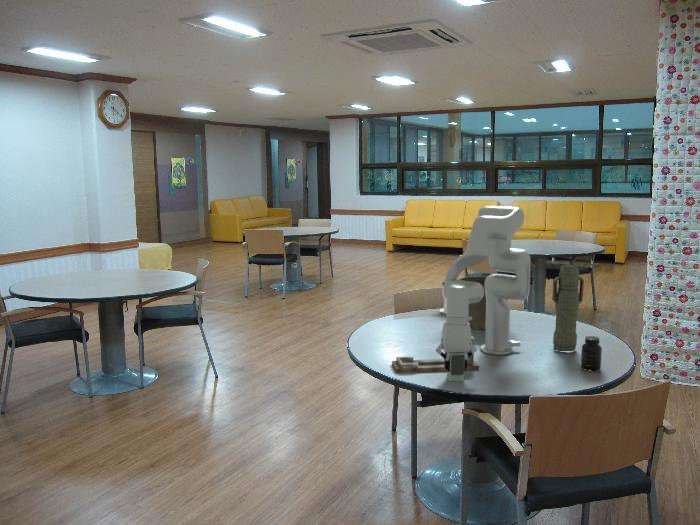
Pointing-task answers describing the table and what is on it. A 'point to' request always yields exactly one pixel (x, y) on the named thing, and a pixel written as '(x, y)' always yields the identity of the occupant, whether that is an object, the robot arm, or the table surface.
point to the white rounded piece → (444, 302)
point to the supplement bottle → (591, 354)
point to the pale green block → (456, 367)
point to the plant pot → (477, 305)
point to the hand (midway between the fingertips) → (455, 369)
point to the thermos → (567, 307)
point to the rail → (427, 364)
